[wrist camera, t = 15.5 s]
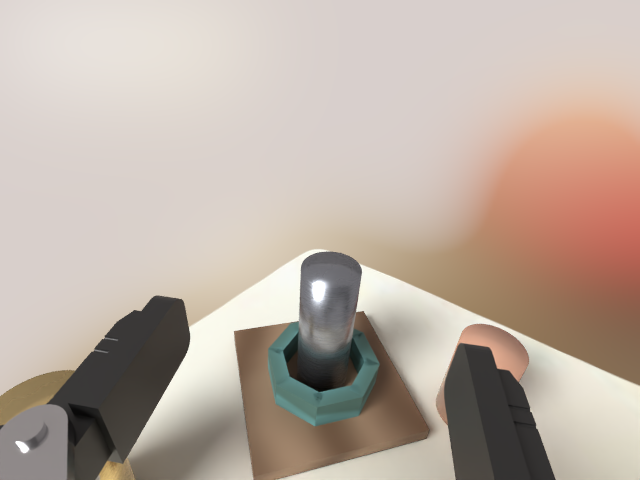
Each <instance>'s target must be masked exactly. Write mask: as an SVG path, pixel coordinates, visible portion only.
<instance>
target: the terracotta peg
mask: <svg viewBox="0 0 640 480" xmlns="http://www.w3.org/2000/svg"><path fill="white" fill-rule="evenodd" d="M460 343H466V344H472V345H479V346H485V347H489V348H490V349H491V350H492V353H493V356H494V359H495V363H496V366H497V369H504V370H509V371H510V372H511V373H512V375H513V376H514V377H515V379H516V380H517V381H518V382H519V381H520V379H521V377H522V375H523V373H524V372H525V370H526V368H527V366H528V364H529V357H528V353H527V351H526V349H525V348H524V346H523V345H522V344H521V343H520V342H519V341H518V340H517V339H516V338H515V337H514V336H512V335H511V334H509V333H508V332H506V331H504V330H502V329H500V328H498V327H495V326H491V325H486V324H474V325H470V326H468V327H466V328H465V329H464V330H463V331H462V333H461V336H460V339H459V341H458V344H457V346H456V349H457V347H458V345H459V344H460ZM456 349H455V351H454V354H453V356H452V359H451V361H450V364H449V367H448V369H447V372H446V374H445V377H444V379H443V382H442V384H441V387H440V390H439V392H438V395H437V398H436V406H437V410H438V412H439V414H440V416H441V418H442V419H443V420H444V422H445V423H446V424H447V425H448V421H447V414H446V408H445V400H444V385H445V379H446V376H447V373H448V371H449V368H450V365H451V363H452V360H453V357H454V355H455V352H456Z"/></svg>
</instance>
